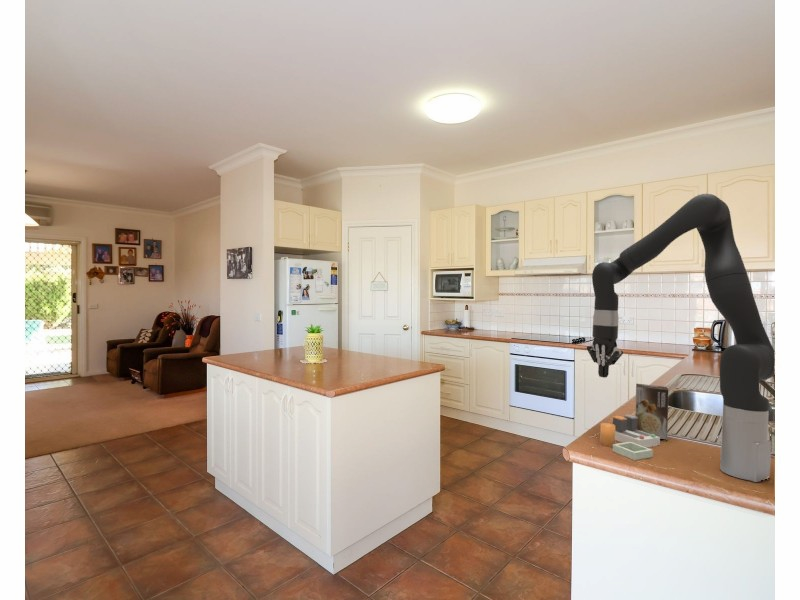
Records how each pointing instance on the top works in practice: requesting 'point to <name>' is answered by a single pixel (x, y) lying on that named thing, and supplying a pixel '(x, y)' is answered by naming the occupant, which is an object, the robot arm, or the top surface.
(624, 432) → the box
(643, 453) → the pale green square frame
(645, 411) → the coffee box
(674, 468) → the top surface
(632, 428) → the block
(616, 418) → the tagged breaker
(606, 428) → the cap
